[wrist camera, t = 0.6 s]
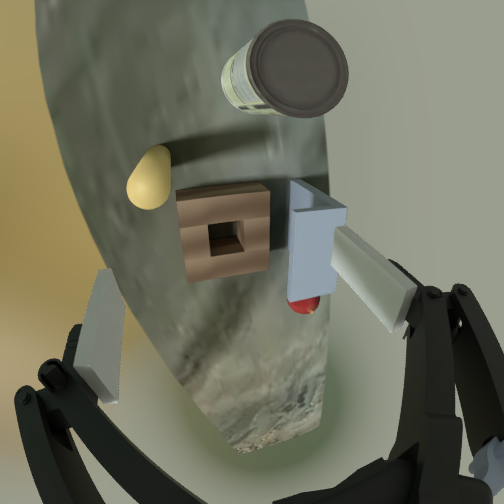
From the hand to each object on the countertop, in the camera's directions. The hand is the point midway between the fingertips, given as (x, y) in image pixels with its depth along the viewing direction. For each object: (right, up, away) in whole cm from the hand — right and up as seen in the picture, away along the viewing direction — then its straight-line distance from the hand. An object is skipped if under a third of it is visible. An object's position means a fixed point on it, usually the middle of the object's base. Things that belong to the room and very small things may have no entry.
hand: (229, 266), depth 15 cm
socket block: (-4, +5, +26) cm, 26 cm away
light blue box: (+5, +6, +28) cm, 29 cm away
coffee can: (+2, +24, +17) cm, 30 cm away
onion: (+9, -5, +36) cm, 37 cm away
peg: (-11, +13, +19) cm, 26 cm away
